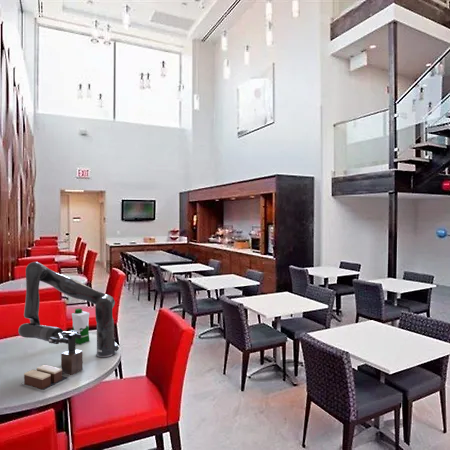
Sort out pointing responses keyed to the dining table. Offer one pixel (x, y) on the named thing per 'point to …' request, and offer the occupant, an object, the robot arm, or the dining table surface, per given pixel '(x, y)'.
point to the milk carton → (81, 325)
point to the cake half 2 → (51, 372)
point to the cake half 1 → (37, 379)
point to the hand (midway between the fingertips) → (74, 339)
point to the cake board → (49, 385)
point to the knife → (71, 343)
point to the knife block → (71, 362)
